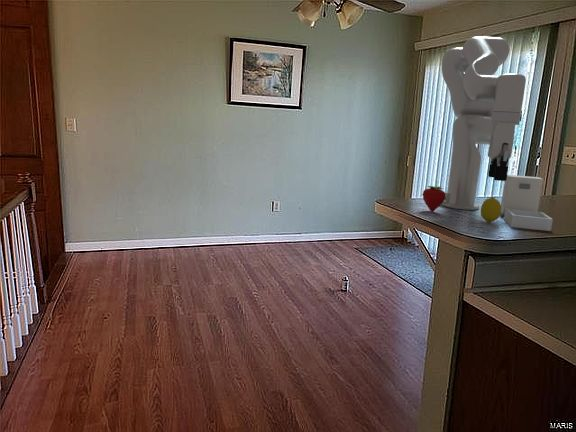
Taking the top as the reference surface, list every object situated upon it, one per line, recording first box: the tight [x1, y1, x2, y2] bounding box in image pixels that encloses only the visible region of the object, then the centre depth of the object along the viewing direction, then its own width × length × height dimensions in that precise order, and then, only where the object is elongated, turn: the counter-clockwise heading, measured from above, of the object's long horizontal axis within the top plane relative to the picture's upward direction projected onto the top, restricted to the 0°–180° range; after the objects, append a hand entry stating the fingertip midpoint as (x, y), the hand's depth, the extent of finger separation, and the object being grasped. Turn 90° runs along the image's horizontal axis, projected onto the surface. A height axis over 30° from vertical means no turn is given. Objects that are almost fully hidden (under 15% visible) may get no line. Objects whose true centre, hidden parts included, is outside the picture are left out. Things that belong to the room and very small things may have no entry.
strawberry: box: [422, 180, 446, 212], centre depth 151 cm, size 6×8×10 cm
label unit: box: [499, 174, 544, 219], centre depth 149 cm, size 11×7×13 cm, turn 76°
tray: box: [503, 209, 554, 232], centre depth 139 cm, size 11×11×4 cm
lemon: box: [480, 196, 501, 224], centre depth 138 cm, size 6×6×8 cm
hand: (496, 178), depth 135 cm, fingers open, 9 cm apart
